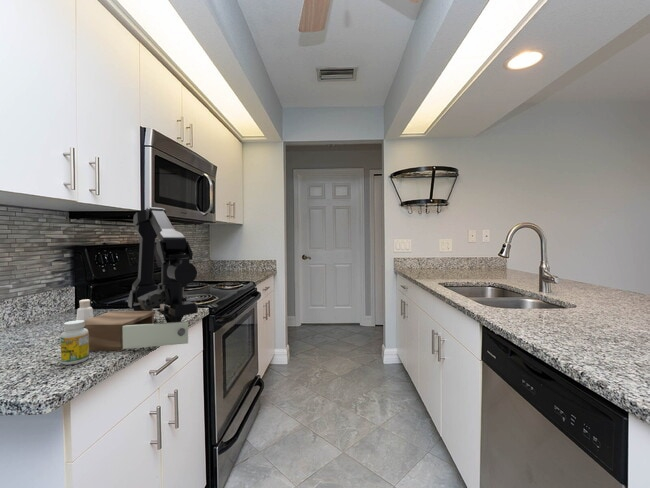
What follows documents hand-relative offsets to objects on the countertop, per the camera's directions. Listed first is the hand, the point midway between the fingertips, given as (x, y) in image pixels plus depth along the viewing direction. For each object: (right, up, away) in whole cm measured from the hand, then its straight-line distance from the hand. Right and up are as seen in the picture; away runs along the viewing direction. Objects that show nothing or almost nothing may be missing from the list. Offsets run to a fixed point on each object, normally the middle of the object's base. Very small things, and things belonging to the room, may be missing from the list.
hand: (172, 334), depth 89 cm
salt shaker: (-32, -3, +9) cm, 33 cm away
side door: (-2, -2, -4) cm, 5 cm away
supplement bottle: (-18, -3, -12) cm, 22 cm away
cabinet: (-18, -3, +3) cm, 18 cm away
